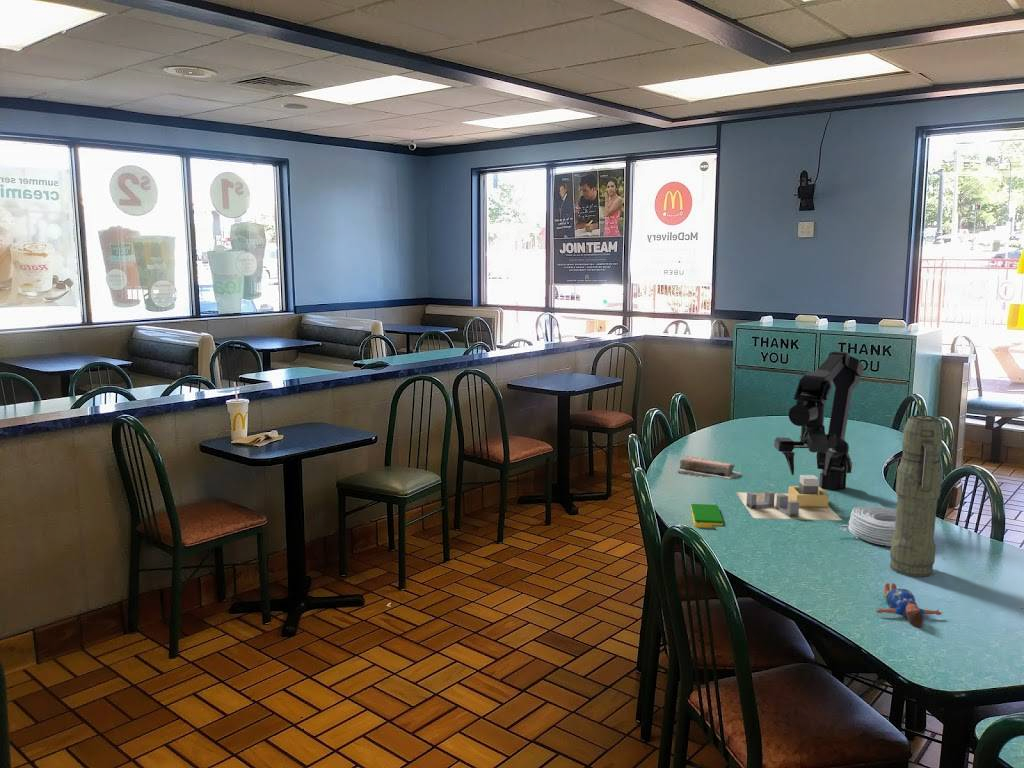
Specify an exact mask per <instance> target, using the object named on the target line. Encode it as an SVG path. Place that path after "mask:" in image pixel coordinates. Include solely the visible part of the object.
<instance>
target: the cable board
mask: <svg viewBox="0 0 1024 768" xmlns="http://www.w3.org/2000/svg"><path fill="white" fill-rule="evenodd" d="M754 493H755V494H757V500H756V502H762V501H764V498H765V492H754ZM774 493H775V492H774ZM735 494H736V495H737V496H738V498H739V499H740V501H741V502H742V504H743V505H744V507H745V508H746V510H747V511H748V513H749V514H750V515H751V517H752V518H753V519H759V520H760V519H761V520H763V519H764V520H765V519H768V520H769V519H770V520H808V521H809V520H810V521H811V520H812V521H813V520H815V521H818V520H819V521H843V519H842V518H841V517H840V516H839V515H838V514H837V513H836V512H835V511H834V510H833V509H832V508H831V507H830V506H829V505H828V508H799V515H798V517H788V516H787V515H785V514H783V513H782V512H780V511H778V510H777V509H776V502H777V495H787V496H788V493H786V492H785V493H783V492H781V493H780V492H776V493H775V497H774V507H769V508H757V509H750V508H749V507H747V506H746V504H747V492H740V491H739V492H735ZM788 501H790V500H789V499H788Z"/></svg>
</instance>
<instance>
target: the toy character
mask: <svg viewBox="0 0 1024 768" xmlns="http://www.w3.org/2000/svg"><path fill="white" fill-rule="evenodd" d="M883 590H884V594H885V600H886V602H887V605H888V606H889V607H890V608H881V607H879V606H877V608H878V609H876V611H875V612H876V614H882V613H886V614H894V615H901V616H903V617H904V616H905V617H907V619H908V622H909V624H910V625H911V626H913V627H915V628H918V629H919V628H921V627H922V625H923V621H924V615H936V616H941V615H943V612H942V611H940V609H939V608H938V609H936V610H930V609H923V608H920V607H919V606H918V604H917V602H916V598H915V595H914V594H913V593H912V592H911V591H910V590H909V589H906V588H897V585H896V583H894V582H893V583H891V585H890V583H888V582H886V583H885V584H884V587H883Z"/></svg>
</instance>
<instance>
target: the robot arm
mask: <svg viewBox="0 0 1024 768" xmlns="http://www.w3.org/2000/svg"><path fill="white" fill-rule="evenodd" d="M863 374H864V364H862V362H861V361H860V359H858V358H856V357H853V356H851V354H850V353H849V352H846V351H835V350H834V351H830V352H829V354H828V357H827V358H826V359H825V360H824V361H823V362H822V364H821V365H819V367H818V368H817V369H816V370H813V371H812V370H811V371H808V372H806V373H805V374H804V375H802V376H801V378H800V379H799V380H798V384H797V388H796V391H795V394H794V397H793V400H794V401H796V404H795V405H793V406H791V408H790V409H789V411H788V418H789V421H790V422H791V423H792V424H793V425H795V426H796V427H800V435H799V440H793V439H791V438H790V437H778V436H777V437H776V438H775V439H774V443H773V445H774V446H773V447H774V448H775V449H776V450H777V451H778V452H781V454H783V455H784V457H785V459H786V462H787V465H788V468H789V471H790V475H791V476H794V474H795V453H796V452H794V450H795V449H808V451H809V452H810V453H816V465H817V468H816V469H817V470H821V472H820V473H819V484H818V487H820V488H821V489H822V490H830V491H843V490H846V487H847V475H848V474H851V473H852V469H853V463H852V458H851V456H850V454H849V451H850V450H849V449H850V447H849V443H848V442H847V441H846V438H845V437H846V431H847V424H848V418H849V412H850V408H851V407H850V406H851V399H852V394H853V390H854V389H855V388H856V387H857V386H858V385H859V384H860V381H861V377H862V376H863ZM832 383H833V385H834V387H835V389H834V393H833V394H834V395H833V400H832V407H831V413H830V417H829V419H830V420H829V425H828V430H827V431H828V433H827V434H826V431H825V430H826V429H825V425H824V424H825V423H824V421H825V407H826V402H827V400H828V399H829V395H830V394H831V391H832V388H833V385H832Z"/></svg>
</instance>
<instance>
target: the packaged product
mask: <svg viewBox="0 0 1024 768" xmlns="http://www.w3.org/2000/svg"><path fill="white" fill-rule="evenodd" d="M734 468H735V465H734V464H732V463H727V462H723V461H717V460H711V459H706V458H701V457H700V458H699V457H697V456H696V457H695V456H689V455H687V456H686V457H683V458H682V459H680V460H679V468H677V470H676V473H677V472H680V473H679V474H682V473H686V474H685V475H687V474H691V475H690V476H692V475H697V476H696V477H698V476H702V477H701V478H719V479H724V480H729V481H730V480H731V479H733V478H736V477H737V478H739V477H740V476H741V475H742V472H741V471H739V472H738V471H734ZM738 476H739V477H738Z"/></svg>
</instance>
